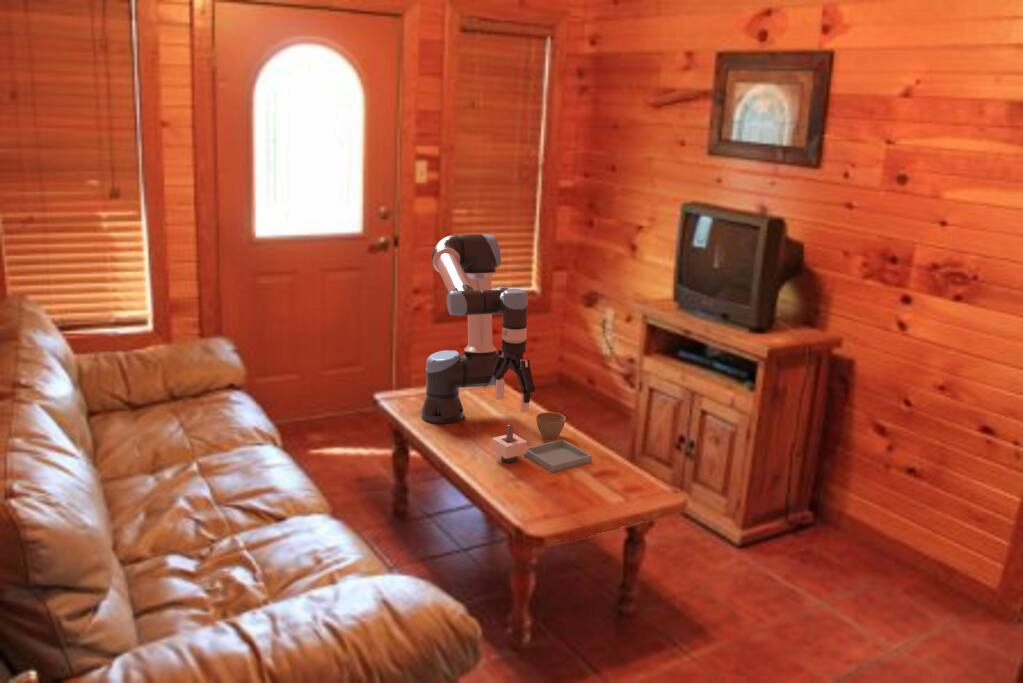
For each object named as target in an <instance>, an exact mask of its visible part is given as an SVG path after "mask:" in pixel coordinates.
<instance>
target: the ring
mask: <svg viewBox="0 0 1023 683" xmlns="http://www.w3.org/2000/svg"><path fill="white" fill-rule="evenodd" d="M527 448H528V441H527V440H525V439H523V438H522V437H520V436H519V435H516V434H515V433H513V442H511V443H507V434H504V435H499V436H496V437H492V438H491V451H493V452H495V453H496V454H497V455H499V456H500V457H501V456H503V457H504V458H506V459H507V458H511V457H515V456H517V457H518V456H524V454H527Z"/></svg>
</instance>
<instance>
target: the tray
mask: <svg viewBox="0 0 1023 683" xmlns="http://www.w3.org/2000/svg"><path fill="white" fill-rule="evenodd" d="M523 457H526V458H527V459H529V460H531V461H532V462H534V463H535V464H536V465H538V466H540V467H542V469H543V468H544V469H545V470H547V471H548V472H550V473H552V474H554V473H559V472H561V471H565V470H569V469H573V468H576V467H580V466H584V465H587V464H591V462H593V455H592V454H590V453H588V452H587V451H585V450H583V449H581V448H579V447H578V446H576V445H574V444H572V443H570V442H569V441H566V440H565V439H562V438H560V439H557V440H556V439H555V440H552V441H549V442H544V443H541V444H536V445H531V446H527V454H523Z"/></svg>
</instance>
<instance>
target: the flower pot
mask: <svg viewBox="0 0 1023 683" xmlns="http://www.w3.org/2000/svg"><path fill="white" fill-rule="evenodd" d="M566 419H567V418H566V416H565V415H563V414H561V413H558V412H552V411H551V412H550V411H548V412H541V413H538V414H537V415H536V416H535V421H536V427H537V428H538V431H539V433H540V435H541V437H542V438H543V439H544V440H549V441H550V440H552V441H554V440H556V439H558V437H559V436H560V434H561V433H562V431H563V430H564V426H565V422H566Z"/></svg>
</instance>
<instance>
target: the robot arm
mask: <svg viewBox="0 0 1023 683" xmlns="http://www.w3.org/2000/svg"><path fill="white" fill-rule="evenodd" d="M430 259H431V264H432V267H433V269H434V270H435V271H436V272H438V273H439V275H440V276H441V279H442V281H443V283H444V285H445V287H446V290H447V292H448V293H447V296H446V307H447V312H448V313H449V315H451V316H461V317H463V316H467V346H466V347H465V348H464V350H463V354H460V353H459V352H458V351H457V350H447V349H446V350H439V351H437V352H434V353H432V354H430V355H429V356H428V357H427V359H426V363H425V365H426V366H425V374H426V375H425V376H426V377H425V378H426V380H425V382H426V383H425V389H426V390H425V391H426V392H425V398H424V401H423V404H422V408H421V411H420V412H421V414H420V415H421V418H422V419H423V421H425V422H429V423H433V424H434V423H435V424H451V423H453V424H454V423H456V422H459V421H460V420H463V418H464V407H463V405H462V401H461V398H460V389H466V388H481V387H484V388H487V387H492V386H493V387H494V386H495V400H502V399H503V400H504V398H505V375H506V373H507V372H508V370H509V369H510V370H511V371H512V372H513V373H514V374H515V375H516V377H517V380H518V383H519V385H520V388H521V390H522V391H521V392H520V406H519V407H520V411H519V412H520V413H521V414H523V413H529V411H530V402H531V393H534V392H535V391H536V387H535V383H534V380H533V379H534V378H533V374H532V371H531V365H530V364H531V362H530V360H529V359H524V355H525V354H526V352H527V337H528V336H527V335H528V333H527V331H528V330H527V329H528V326H527V324H528V306H529V300H528V299H529V298H528V296H529V294H528V292H527V291H526V290H525V289H521V288H509V287H506V286H498V287H496V288H495V289H492V277H494V275H495V274H496V271H497V270H496V268H497V269H498V268H499V267H500V266H501V264H502V263H501V262H502V255H501V250H500V245H499V242H498V240H497V237H495V235H493V234H487V233H479V234H474V233H473V234H450V235H447V236H444V237H443V238H442V239H440V240H438V242H437V243H435V245H434V247H433V249H432V251H431V255H430ZM500 314H501V316H502V322H501V326H502V328H501V332H502V333H501V339H502V340H501V349H499V350H497V348H496V347H495V346H494V344H493V315H500Z"/></svg>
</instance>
